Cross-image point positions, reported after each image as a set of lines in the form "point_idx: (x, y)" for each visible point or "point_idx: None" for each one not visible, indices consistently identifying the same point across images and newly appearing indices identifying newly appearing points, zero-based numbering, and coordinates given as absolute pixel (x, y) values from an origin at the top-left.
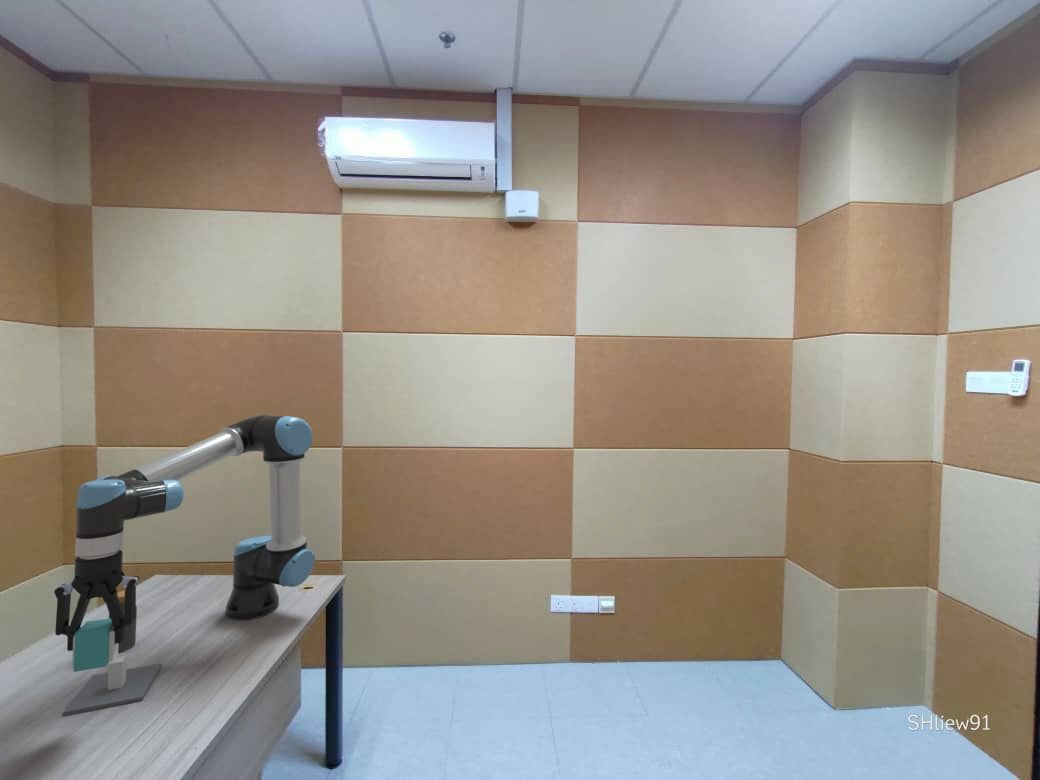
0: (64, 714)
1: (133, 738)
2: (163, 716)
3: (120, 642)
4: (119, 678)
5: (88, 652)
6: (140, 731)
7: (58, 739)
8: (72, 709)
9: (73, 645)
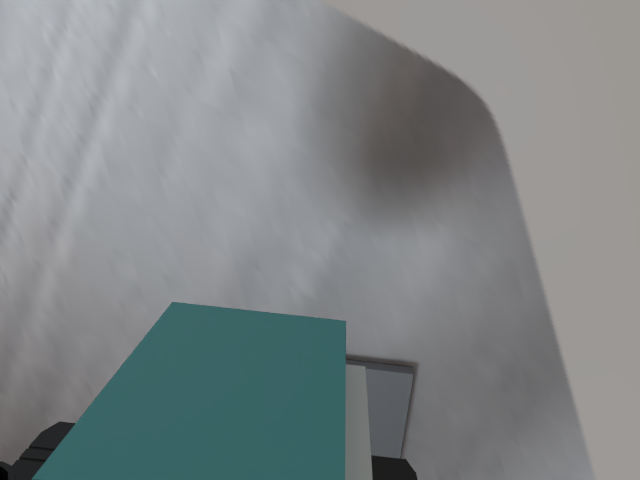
0: (406, 367)
1: (119, 88)
2: (50, 187)
3: (56, 424)
4: None
5: (249, 369)
6: (106, 124)
7: (382, 217)
8: (385, 376)
9: (368, 466)
